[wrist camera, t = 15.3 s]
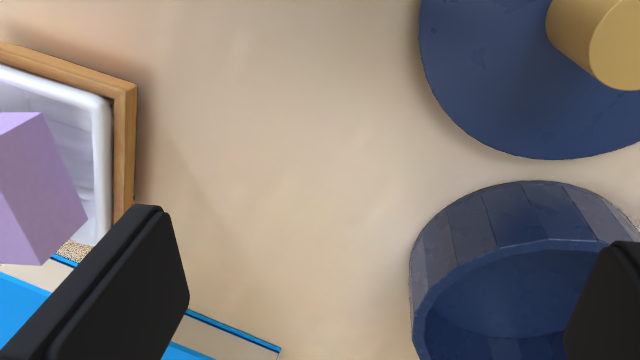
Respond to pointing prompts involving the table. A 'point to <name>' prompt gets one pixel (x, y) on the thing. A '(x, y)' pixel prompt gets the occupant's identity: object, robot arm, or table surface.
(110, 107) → the soap dish
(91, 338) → the robot arm
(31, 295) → the book
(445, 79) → the tin lid
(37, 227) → the soap
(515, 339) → the tin
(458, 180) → the table surface
